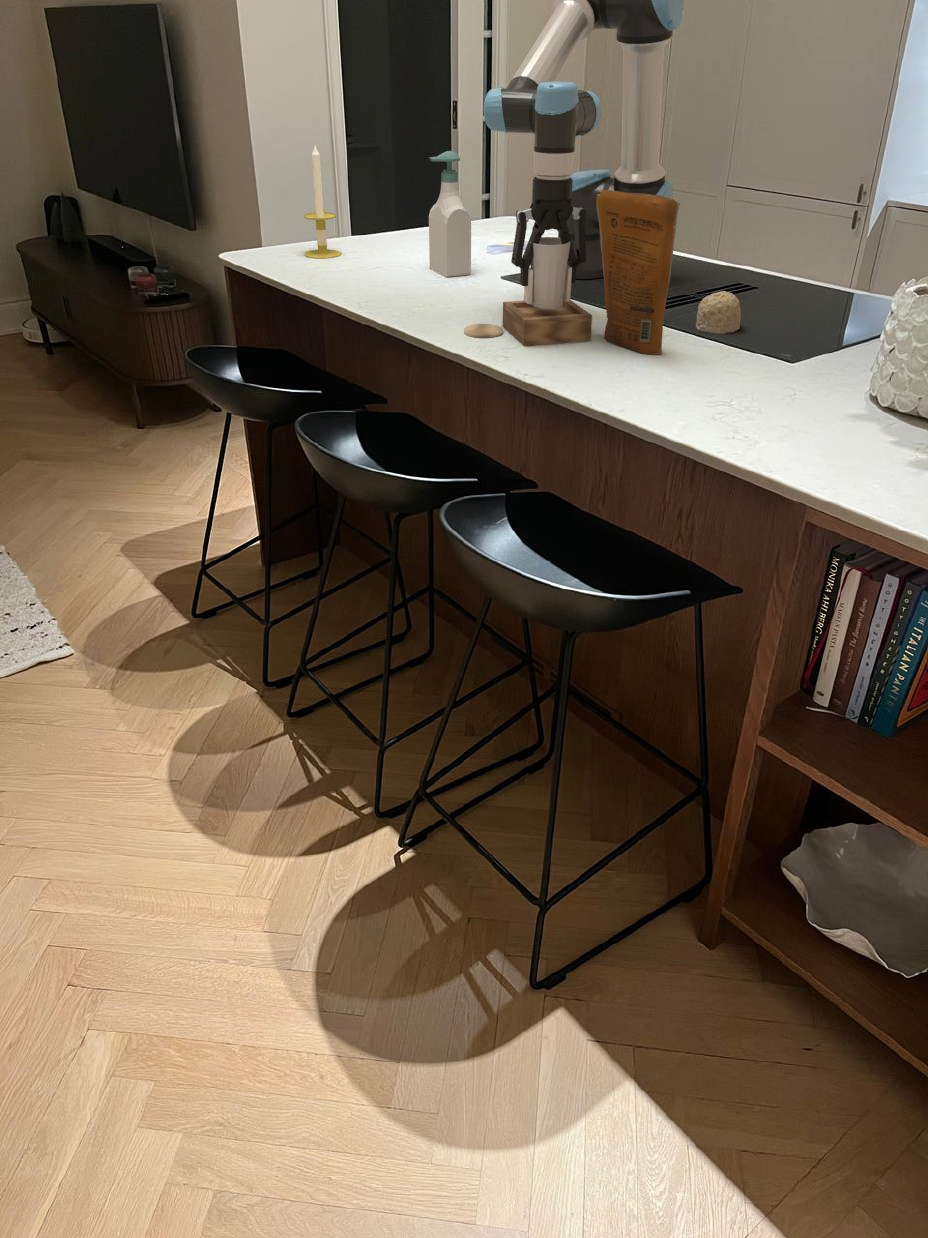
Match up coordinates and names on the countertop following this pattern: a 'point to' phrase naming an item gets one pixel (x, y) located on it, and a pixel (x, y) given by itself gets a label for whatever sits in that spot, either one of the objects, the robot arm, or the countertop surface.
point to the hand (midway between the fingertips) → (546, 300)
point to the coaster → (483, 330)
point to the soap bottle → (449, 225)
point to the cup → (549, 272)
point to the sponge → (719, 313)
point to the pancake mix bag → (636, 266)
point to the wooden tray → (546, 323)
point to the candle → (320, 214)
